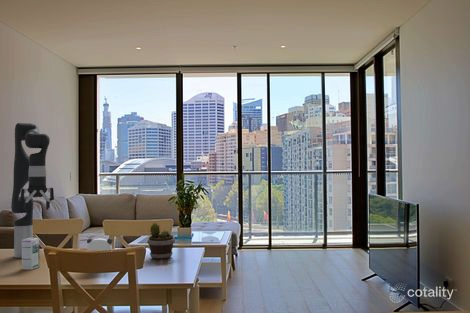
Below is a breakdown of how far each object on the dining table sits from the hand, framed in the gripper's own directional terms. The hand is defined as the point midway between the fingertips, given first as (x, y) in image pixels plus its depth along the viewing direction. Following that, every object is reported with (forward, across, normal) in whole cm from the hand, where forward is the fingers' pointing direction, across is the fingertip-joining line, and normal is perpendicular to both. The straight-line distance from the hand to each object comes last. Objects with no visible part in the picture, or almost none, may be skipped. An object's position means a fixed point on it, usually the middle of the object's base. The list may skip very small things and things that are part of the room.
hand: (37, 210), depth 203 cm
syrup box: (+30, +1, -12) cm, 32 cm away
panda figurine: (+30, -26, +11) cm, 41 cm away
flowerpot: (+30, -61, +4) cm, 68 cm away
